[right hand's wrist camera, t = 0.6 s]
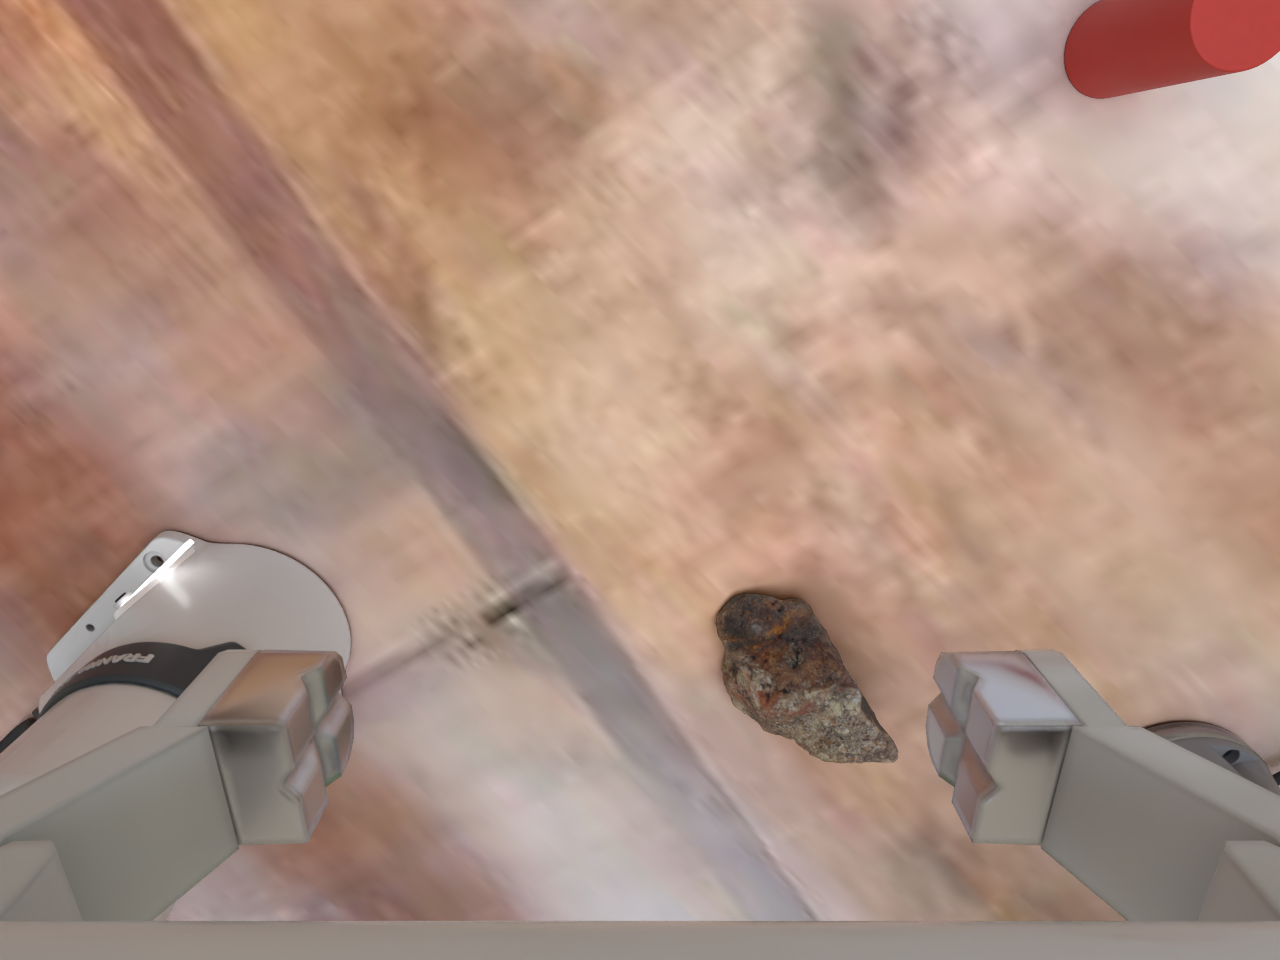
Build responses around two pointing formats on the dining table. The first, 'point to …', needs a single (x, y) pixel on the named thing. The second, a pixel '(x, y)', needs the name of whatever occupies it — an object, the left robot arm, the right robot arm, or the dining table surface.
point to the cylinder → (1167, 43)
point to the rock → (797, 680)
